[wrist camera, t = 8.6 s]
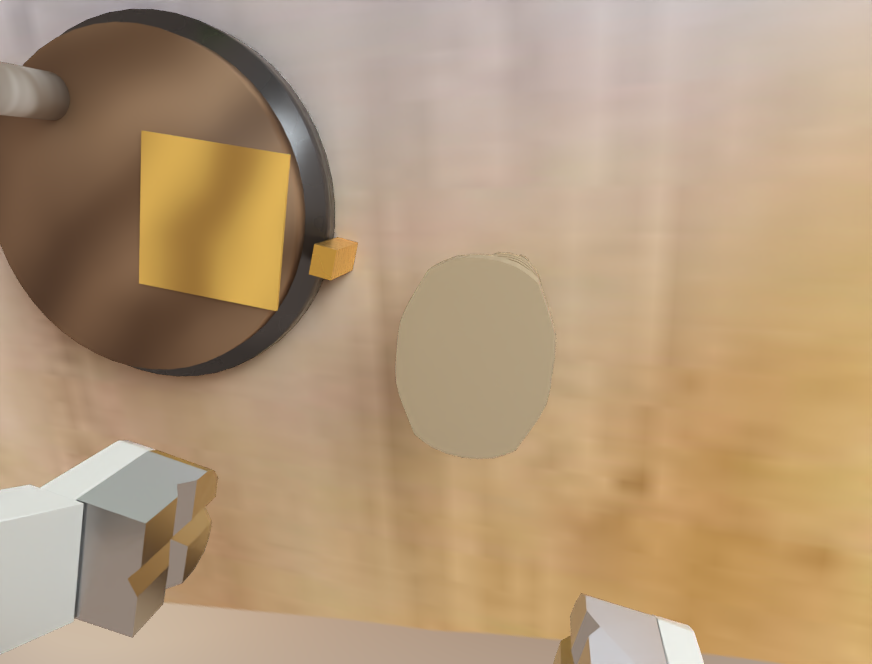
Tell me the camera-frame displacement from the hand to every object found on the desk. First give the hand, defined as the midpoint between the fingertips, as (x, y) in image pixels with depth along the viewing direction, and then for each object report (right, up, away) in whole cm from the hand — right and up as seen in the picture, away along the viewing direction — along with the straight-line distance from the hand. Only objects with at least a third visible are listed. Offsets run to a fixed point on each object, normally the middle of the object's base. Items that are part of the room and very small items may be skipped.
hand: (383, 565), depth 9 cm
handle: (+5, +6, +24) cm, 25 cm away
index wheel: (-15, +10, +25) cm, 31 cm away
